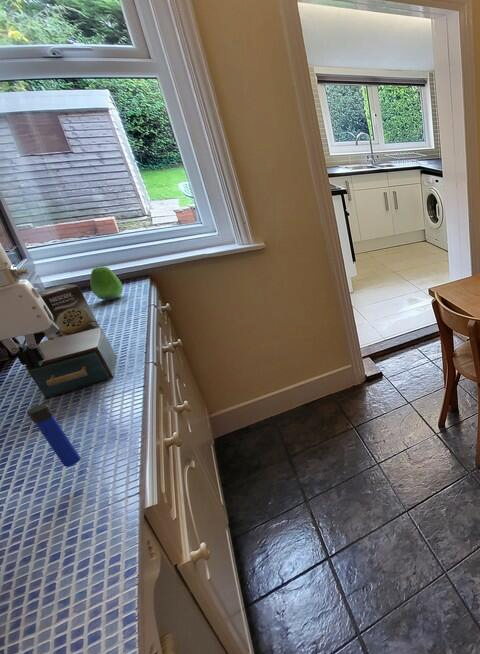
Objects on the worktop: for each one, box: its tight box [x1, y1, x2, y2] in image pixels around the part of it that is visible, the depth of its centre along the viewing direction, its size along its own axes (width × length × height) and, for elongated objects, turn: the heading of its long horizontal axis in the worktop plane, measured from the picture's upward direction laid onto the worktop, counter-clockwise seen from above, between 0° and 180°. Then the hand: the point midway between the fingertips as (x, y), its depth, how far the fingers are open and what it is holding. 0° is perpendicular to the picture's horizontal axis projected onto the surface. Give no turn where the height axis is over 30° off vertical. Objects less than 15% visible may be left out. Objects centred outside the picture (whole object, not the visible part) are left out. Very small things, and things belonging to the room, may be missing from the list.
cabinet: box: [24, 326, 117, 399], centre depth 98 cm, size 14×12×9 cm
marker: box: [26, 403, 82, 468], centre depth 71 cm, size 2×2×12 cm
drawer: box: [30, 351, 109, 396], centre depth 95 cm, size 17×10×7 cm, turn 40°
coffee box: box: [37, 283, 101, 341], centre depth 112 cm, size 9×6×16 cm
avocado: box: [89, 266, 123, 301], centre depth 143 cm, size 8×8×12 cm
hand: (36, 364), depth 83 cm, fingers closed
